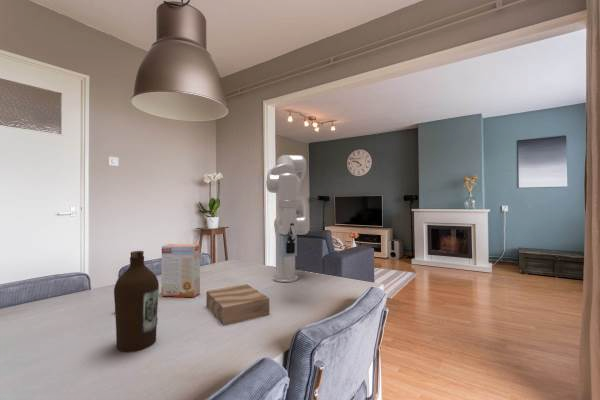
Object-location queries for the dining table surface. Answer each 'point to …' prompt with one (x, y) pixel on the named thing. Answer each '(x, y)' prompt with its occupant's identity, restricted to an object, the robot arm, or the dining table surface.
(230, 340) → the dining table surface
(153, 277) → the olive oil
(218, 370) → the dining table surface
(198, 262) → the cracker box
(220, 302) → the riser block
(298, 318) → the dining table surface
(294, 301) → the dining table surface
